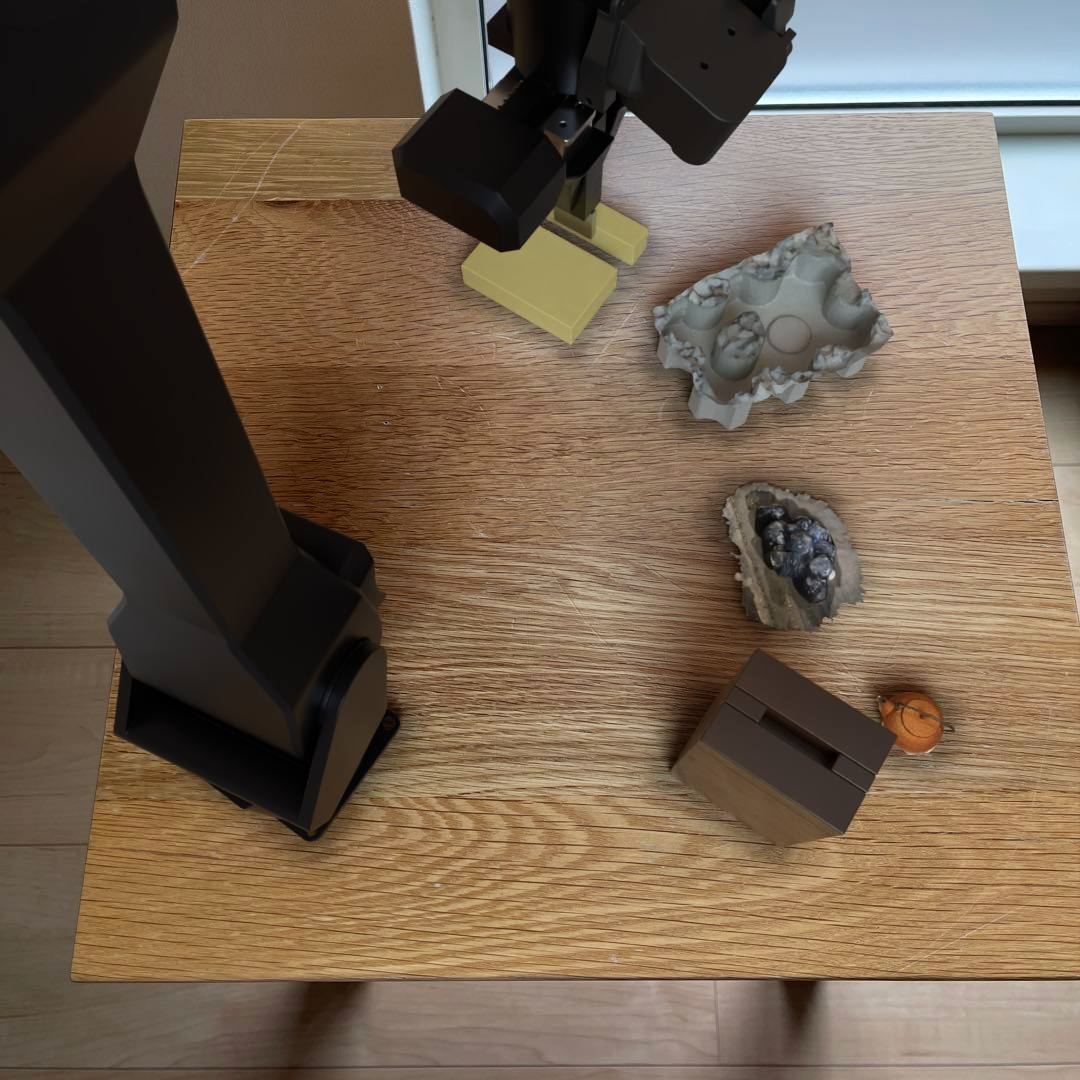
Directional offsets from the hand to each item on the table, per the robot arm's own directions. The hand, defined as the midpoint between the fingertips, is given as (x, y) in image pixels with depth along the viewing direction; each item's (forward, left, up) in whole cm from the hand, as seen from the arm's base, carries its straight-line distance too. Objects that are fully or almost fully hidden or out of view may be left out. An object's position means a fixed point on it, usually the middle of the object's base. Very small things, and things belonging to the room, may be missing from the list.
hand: (573, 194), depth 48 cm
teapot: (-13, -27, -4) cm, 30 cm away
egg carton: (0, -12, -4) cm, 13 cm away
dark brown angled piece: (0, 0, -2) cm, 3 cm away
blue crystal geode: (-9, -18, -4) cm, 21 cm away
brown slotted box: (-19, -22, -4) cm, 29 cm away
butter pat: (+1, 0, -4) cm, 4 cm away
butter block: (-3, 0, -4) cm, 5 cm away
